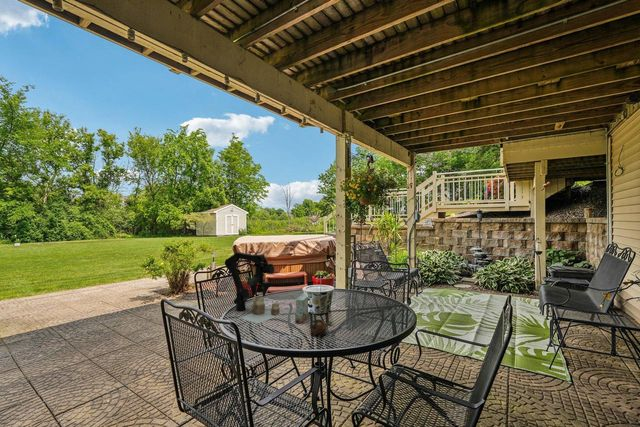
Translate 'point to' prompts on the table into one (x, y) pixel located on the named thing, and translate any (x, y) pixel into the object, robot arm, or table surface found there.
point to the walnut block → (258, 309)
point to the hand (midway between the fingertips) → (258, 295)
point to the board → (258, 317)
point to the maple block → (258, 300)
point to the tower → (275, 309)
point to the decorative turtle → (318, 327)
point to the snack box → (301, 309)
